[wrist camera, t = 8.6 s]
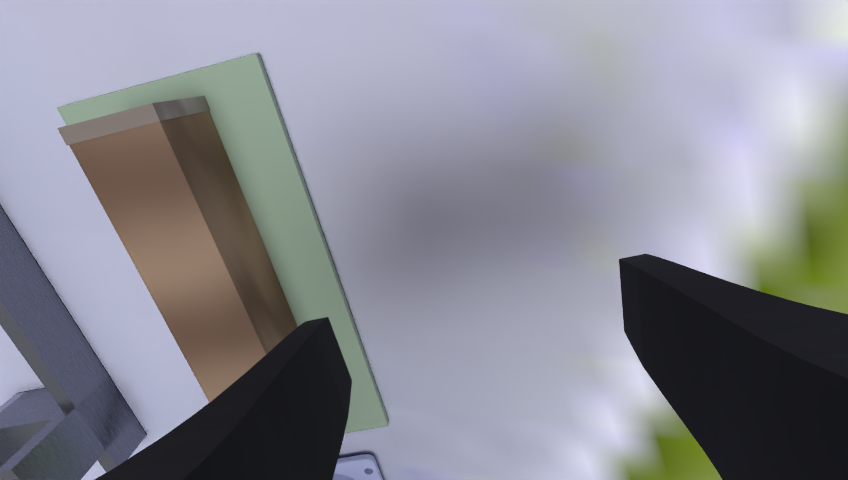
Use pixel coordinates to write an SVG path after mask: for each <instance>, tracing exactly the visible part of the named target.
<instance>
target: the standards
mask: <svg viewBox="0 0 848 480" xmlns="http://www.w3.org/2000/svg"><path fill="white" fill-rule="evenodd" d="M0 325H1V326H2V328H3V329H4V330H5V332H6V333H7V335H8V336H9V337H10V339H11V340H12V341H13V343H14V344H15V346H16V347H17V348H18V350H19V351H20V353H21V354H22V355H23V357H24V358H25V360H26V361H27V362H28V364H29V365H30V367H31V368H32V369H33V371H34V372H35V374H36V375H37V376H38V378H39V379H40V381H41V382H42V383H43V385H44V386H45V387H46V388H42V389H37V390H32V391H27V392H22V393H17V394H15V395H14V396H13V397H12V398H10V399H9V400H8V401H7V402H5V403H4V404H3V405H2V406H0V480H81V479H82V477H83V476H84V475H85V474H86V473H87V471H88V470H89V469H90V468H91V467H92V466H93V464H94V463H95V462H96V461H97V460H98V461H99V463H100V464H101V466H102V467H103V468H104V470H105V471H106V472H109V471H110V470H112V469H113V468H115V467H117V466H118V465H120V464H121V463H123V462H124V461H126V460H128V458H129V457H130V456H131V454H132V453H133V452H134V450H135V449H136V448H137V447H138V445H139V444H140V443H141V441H142V440H143V439H144V437H145V436H146V433H145V432H144V430H143V428H142V427H141V425H140V424H139V422H138V421H137V419H136V417H135V416H134V414H133V413H132V411H131V410H130V408H129V407H128V405H127V403H126V402H125V400H124V399H123V397H122V396H121V394H120V392H119V391H118V389H117V388H116V386H115V385H114V383H113V381H112V380H111V378H110V377H109V375H108V374H107V372H106V371H105V369H104V367H103V366H102V364H101V363H100V361H99V360H98V358H97V356H96V355H95V353H94V352H93V350H92V349H91V347H90V346H89V344H88V342H87V341H86V339H85V338H84V336H83V335H82V333H81V331H80V330H79V328H78V327H77V325H76V324H75V322H74V320H73V319H72V317H71V316H70V314H69V313H68V311H67V310H66V308H65V306H64V305H63V303H62V302H61V300H60V299H59V297H58V295H57V294H56V292H55V291H54V289H53V288H52V286H51V285H50V283H49V281H48V280H47V278H46V277H45V275H44V274H43V272H42V270H41V269H40V267H39V266H38V264H37V263H36V261H35V259H34V258H33V256H32V255H31V253H30V252H29V250H28V249H27V247H26V245H25V244H24V242H23V241H22V239H21V238H20V236H19V234H18V233H17V231H16V230H15V228H14V227H13V225H12V224H11V222H10V220H9V219H8V217H7V216H6V214H5V213H4V211H3V209H2V208H1V206H0Z"/></svg>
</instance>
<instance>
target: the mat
mask: <svg viewBox="0 0 848 480" xmlns="http://www.w3.org/2000/svg"><path fill="white" fill-rule="evenodd" d="M198 96H205V98H206V100H207V103H208V105H209V108H210V111H209V112H210V114H211V117H212V119H213V122H214V124H215V127H216V129H217V132H218V134H219V136H220V139H221V141H222V144H223V146H224V149H225V151H226V153H227V156H228V158H229V161H230V163H231V166H232V168H233V170H234V173H235V175H236V178H237V180H238V183H239V185H240V188H241V190H242V192H243V195H244V197H245V200H246V202H247V205H248V207H249V209H250V212H251V214H252V217H253V219H254V222H255V224H256V227H257V229H258V231H259V234H260V236H261V239H262V241H263V244H264V246H265V248H266V251H267V253H268V256H269V258H270V261H271V263H272V266H273V268H274V270H275V273H276V275H277V278H278V280H279V283H280V285H281V287H282V290H283V292H284V295H285V297H286V300H287V302H288V304H289V307H290V309H291V312H292V314H293V317H294V319H295V322H296V324H297V326H300V325H301V324H302V323H304V322H305V321H310V320H315V319H320V318H325V317H328V318H329V320H330V323H331V326H332V328H333V331H334V334H335V336H336V339H337V342H338V344H339V347H340V350H341V352H342V355H343V358H344V360H345V363H346V366H347V368H348V371H349V374H350V376H351V379H352V387H351V397H350V406H349V414H348V420H347V424H346V428H345V433H349V432H355V431H361V430H367V429H373V428H379V427H385V426H388V422H389V420H388V417H387V414H386V411H385V409H384V406H383V403H382V400H381V397H380V394H379V392H378V389H377V386H376V383H375V380H374V377H373V374H372V372H371V369H370V366H369V363H368V360H367V357H366V355H365V352H364V349H363V346H362V343H361V340H360V338H359V335H358V332H357V329H356V326H355V323H354V320H353V318H352V315H351V312H350V309H349V306H348V303H347V301H346V298H345V295H344V292H343V289H342V286H341V284H340V281H339V278H338V275H337V272H336V269H335V267H334V264H333V261H332V258H331V255H330V252H329V249H328V247H327V244H326V241H325V238H324V235H323V232H322V230H321V227H320V224H319V221H318V218H317V215H316V213H315V210H314V207H313V204H312V201H311V198H310V195H309V193H308V190H307V187H306V184H305V181H304V178H303V176H302V173H301V170H300V167H299V164H298V161H297V159H296V156H295V153H294V150H293V147H292V144H291V141H290V139H289V136H288V133H287V130H286V127H285V124H284V122H283V119H282V116H281V113H280V110H279V107H278V105H277V102H276V99H275V96H274V93H273V90H272V87H271V85H270V82H269V79H268V76H267V73H266V70H265V68H264V65H263V62H262V59H261V56H260V54H258V53H255V54H252V55H248V56H244V57H241V58H237V59H233V60H230V61H226V62H222V63H219V64H215V65H211V66H208V67H204V68H200V69H197V70H193V71H189V72H186V73H182V74H178V75H175V76H171V77H167V78H164V79H160V80H156V81H153V82H149V83H145V84H142V85H138V86H134V87H131V88H127V89H123V90H120V91H116V92H112V93H109V94H105V95H102V96H98V97H94V98H91V99H87V100H83V101H80V102H76V103H72V104H69V105H65V106H61V107H58V108H57V109H58V111H59V113H60V115H61V116H62V118H63V120H64V122H65V124H66V126H68V125H72V124H76V123H79V122H83V121H87V120H91V119H94V118H98V117H102V116H106V115H109V114H113V113H117V112H121V111H125V110H128V109H132V108H136V107H140V106H143V105H147V104H151V103H157V102H164V101H171V100H178V99H185V98H191V97H198Z"/></svg>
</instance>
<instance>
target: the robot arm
mask: <svg viewBox="0 0 848 480" xmlns="http://www.w3.org/2000/svg"><path fill="white" fill-rule="evenodd" d="M619 266H620V279H621V293H622V306H623V319H624V331H625V333H626V335H627V337H628V339H629V341H630V343H631V345H632V347H633V349H634V351H635V353H636V354H637V356H638V358H639V360H640V362H641V364H642V365H643V367H644V369H645V370H646V371H647V373H648V374H649V376H650V377H651V378H652V380H653V381H654V383H655V384H656V385H657V387H658V388H659V390H660V391H661V392H662V394H663V395H664V397H665V398H666V399H667V401H668V402H669V403H670V405H671V406H672V408H673V409H674V410H675V412H676V413H677V414H678V416H679V417H680V419H681V420H682V421H683V423H684V424H685V425H686V427H687V428H688V430H689V431H690V432H691V434H692V435H693V436H694V438H695V439H696V441H697V442H698V443H699V445H700V446H701V447H702V449H703V450H704V452H705V453H706V455H707V456H708V458H709V459H710V461H711V462H712V464H713V465H714V467H715V468H716V470H717V471H718V473H719V474H720V476H721V478H722V480H848V314H844V313H839V312H835V311H831V310H826V309H822V308H818V307H813V306H809V305H806V304H802V303H798V302H794V301H790V300H787V299H783V298H780V297H777V296H773V295H770V294H767V293H763V292H760V291H756V290H753V289H750V288H747V287H744V286H741V285H737V284H734V283H731V282H728V281H725V280H723V279H720V278H717V277H714V276H711V275H708V274H705V273H702V272H700V271H697V270H694V269H691V268H688V267H686V266H683V265H680V264H677V263H674V262H671V261H668V260H665V259H662V258H659V257H656V256H652V255H648V254H643V255H638V256H633V257H628V258H622V259H619ZM351 387H352V379H351V376H350V374H349V371H348V368H347V366H346V363H345V360H344V358H343V355H342V352H341V350H340V347H339V344H338V342H337V339H336V336H335V334H334V331H333V328H332V326H331V323H330V320H329V318H328V317H325V318H320V319H315V320H310V321H305V322H304V323H302V324H301V325H300V326H298V327H297V328H296V329H295V330H293V331H292V332H291V333H290V334H289V335H287V336H286V337H285V338H284V339H283V340H282V341H281V342H280V343H278V344H277V345H276V346H275V347H274V348H273V349H272V350H271V351H270V352H268V353H267V354H266V355H265V356H264V357H263V358H262V359H261V360H259V361H258V362H257V363H256V364H255V365H254V366H253V367H252V368H250V369H249V370H248V371H247V372H246V373H245V374H244V375H242V376H241V377H240V378H239V379H238V380H236V381H235V382H234V383H233V384H232V385H230V386H229V387H228V388H227V389H226V390H224V391H223V392H222V393H221V394H220V395H218V396H217V397H216V398H215V399H214V400H212V401H211V402H210V403H209V404H207V405H206V406H205V407H203V408H202V409H201V410H199V411H198V412H197V413H196V414H194V415H193V416H192V417H190V418H189V419H187V420H186V421H185V422H183V423H182V424H180V425H179V426H178V427H176V428H175V429H173V430H172V431H171V432H169V433H168V434H166V435H165V436H163V437H162V438H160V439H159V440H158V441H156V442H154V443H153V444H151V445H150V446H148V447H147V448H145V449H143V450H142V451H140V452H139V453H137V454H135V455H134V456H132V457H131V458H129V459H128V460H126V461H124V462H123V463H121V464H120V465H118V466H117V467H115V468H113V469H112V470H110V471H109V472H107V473H105V474H104V475H102V476H100V477H98V478H97V479H95V480H383V478H382V476H381V473H380V471H379V468H378V465H377V463H376V460H375V458H374V457H373V456H371V455H369V454H364V455H358V456H351V457H345V458H339V459H338V457H339V453H340V449H341V445H342V441H343V437H344V433H345V428H346V424H347V420H348V414H349V406H350V397H351ZM368 468H370V469H368Z"/></svg>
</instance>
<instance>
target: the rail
mask: <svg viewBox="0 0 848 480" xmlns="http://www.w3.org/2000/svg"><path fill="white" fill-rule="evenodd" d="M209 111H210V108H209V105H208V103H207V100H206V98H205V96H198V97H191V98H185V99H178V100H171V101H164V102H157V103H151V104H147V105H143V106H140V107H136V108H132V109H128V110H125V111H121V112H117V113H113V114H109V115H106V116H102V117H98V118H94V119H91V120H87V121H83V122H79V123H76V124H72V125H68V126H64V127H61V128H58V130H59V132H60V134H61V136H62V138H63V139H64V141H65V143H66V145H70V147H71V149H72V151H73V153H74V155H75V156H76V158H77V160H78V162H79V164H80V166H81V167H82V169H83V171H84V173H85V175H86V177H87V178H88V180H89V182H90V184H91V186H92V188H93V189H94V191H95V193H96V195H97V197H98V199H99V201H100V202H101V204H102V206H103V208H104V210H105V212H106V213H107V215H108V217H109V219H110V221H111V223H112V224H113V226H114V228H115V230H116V232H117V234H118V235H119V237H120V239H121V241H122V243H123V245H124V246H125V248H126V250H127V252H128V254H129V256H130V257H131V259H132V261H133V263H134V265H135V267H136V269H137V270H138V272H139V274H140V276H141V278H142V280H143V281H144V283H145V285H146V287H147V289H148V291H149V292H150V294H151V296H152V298H153V300H154V302H155V303H156V305H157V307H158V309H159V311H160V313H161V314H162V316H163V318H164V320H165V322H166V324H167V325H168V327H169V329H170V331H171V333H172V335H173V336H174V338H175V340H176V342H177V344H178V346H179V348H180V349H181V351H182V353H183V355H184V357H185V359H186V360H187V362H188V364H189V366H190V368H191V370H192V371H193V373H194V375H195V377H196V379H197V381H198V382H199V384H200V386H201V388H202V390H203V392H204V393H205V395H206V397H207V399H208V401H209V403H210V402H211V401H212V400H214V399H215V398H216V397H217V396H218V395H220V394H221V393H222V392H223V391H224V390H226V389H227V388H228V387H229V386H230V385H232V384H233V383H234V382H235V381H236V380H238V379H239V378H240V377H241V376H242V375H244V374H245V373H246V372H247V371H248V370H249V369H250V368H252V367H253V366H254V365H255V364H256V363H257V362H258V361H259V360H261V359H262V358H263V357H264V356H265V355H266V354H267V353H268V352H270V351H271V350H272V349H273V348H274V347H275V346H276V345H277V344H278V343H280V342H281V341H282V340H283V339H284V338H285V337H286V336H287V335H289V334H290V333H291V332H292V331H293V330H295V329H296V328H297V327H298V326H297V324H296V322H295V319H294V317H293V314H292V312H291V309H290V307H289V304H288V302H287V300H286V297H285V295H284V292H283V290H282V287H281V285H280V283H279V280H278V278H277V275H276V273H275V270H274V268H273V266H272V263H271V261H270V258H269V256H268V253H267V251H266V248H265V246H264V244H263V241H262V239H261V236H260V234H259V231H258V229H257V227H256V224H255V222H254V219H253V217H252V214H251V212H250V209H249V207H248V205H247V202H246V200H245V197H244V195H243V192H242V190H241V188H240V185H239V183H238V180H237V178H236V175H235V173H234V170H233V168H232V166H231V163H230V161H229V158H228V156H227V153H226V151H225V149H224V146H223V144H222V141H221V139H220V136H219V134H218V132H217V129H216V127H215V124H214V122H213V119H212V117H211V114H210V112H209Z"/></svg>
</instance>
